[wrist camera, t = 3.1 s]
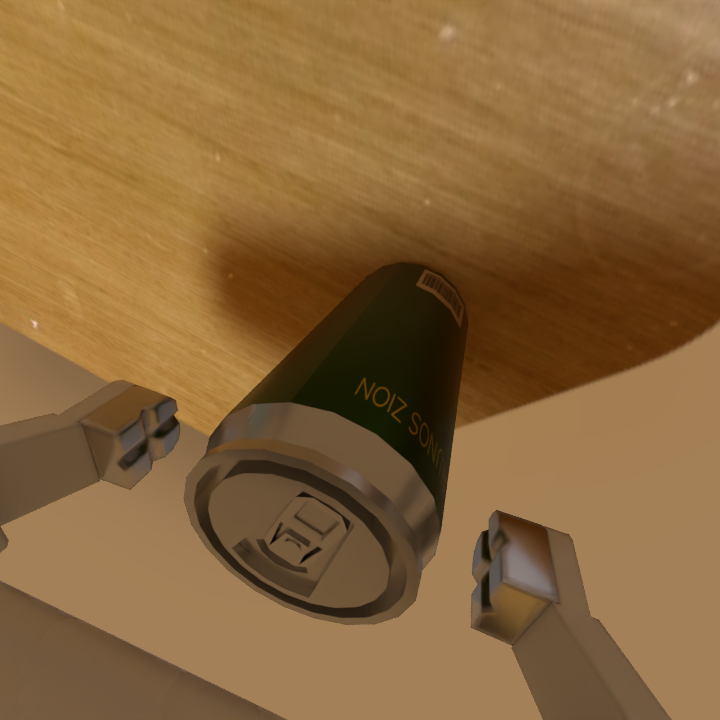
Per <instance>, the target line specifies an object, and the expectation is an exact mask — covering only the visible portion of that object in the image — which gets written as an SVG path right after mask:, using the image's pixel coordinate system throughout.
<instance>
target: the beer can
mask: <svg viewBox="0 0 720 720" xmlns="http://www.w3.org/2000/svg"><path fill="white" fill-rule="evenodd" d="M467 328H468V320H467V313H466V307H465V304H464V302H463V300H462V298H461V296H460V294H459V292H458V291H457V289H456V287H455V286H454V285H452V284H451V283H450V282H449V281H448V280H447V279H446V278H445V277H444V276H443V275H442V274H440V273H438V272H436V271H434V270H432V269H430V268H427V267H425V266H423V265H417V264H409V263H399V264H394V265H389V266H384V267H382V268H380V269H378V270H377V271H375V272H373V273H371V274H370V275H368V276H367V277H366V278H365V279H364V280H363V281H362V282H361V283H360V284H359V285H358V286H357V287H356V288H355V289H354V290H353V291H352V292H351V293H350V294H349V295H348V296H347V297H346V298H345V299H344V300H343V301H342V302H340V303H339V304H338V305H337V306H336V307H335V308H334V309H333V310H332V311H331V312H330V313H329V314H328V315H327V316H326V317H325V318H324V319H323V320H322V321H321V322H320V323H319V324H318V325H317V326H316V327H315V328H314V329H313V330H312V331H311V332H310V333H309V334H308V335H307V336H306V337H305V338H304V339H303V340H302V341H301V342H300V343H299V344H298V345H297V346H296V347H295V348H294V349H293V350H292V351H291V352H290V353H289V354H288V355H287V356H286V357H285V358H284V359H283V360H282V361H281V362H280V363H279V364H278V365H277V366H276V367H275V368H274V369H273V370H272V371H271V372H270V373H269V374H268V375H267V376H266V377H265V378H264V379H263V380H262V381H261V382H260V383H259V384H258V385H257V386H256V387H255V388H254V389H253V390H252V391H251V392H250V393H249V394H248V395H247V396H246V397H245V398H244V399H243V400H242V401H241V402H240V403H239V404H238V405H237V406H236V407H235V408H234V409H233V410H232V411H231V412H230V413H229V414H228V415H227V416H226V417H225V418H224V419H223V420H222V422H221V423H220V424H219V426H218V427H217V428H216V429H215V431H214V432H213V433H212V435H211V436H210V438H209V442H208V446H207V450H206V454H205V455H204V457H203V458H202V459H201V460H200V461H199V462H198V463H197V465H196V466H195V467H194V468H193V470H192V471H191V472H190V473H189V475H188V476H187V477H186V485H185V493H184V502H185V506H186V509H187V512H188V515H189V519H190V522H191V525H192V526H193V528H194V529H195V531H196V532H197V534H198V535H199V537H200V539H201V540H202V542H203V543H204V545H205V546H206V548H207V549H208V550H209V551H210V552H211V553H212V554H213V555H214V556H215V557H216V558H217V559H218V560H219V562H220V563H221V564H222V565H223V566H224V567H225V568H226V569H227V570H228V571H229V572H231V573H232V574H233V575H235V576H236V577H237V578H239V579H240V580H241V581H243V582H244V583H245V584H247V585H248V586H249V587H251V588H252V589H253V590H255V591H256V592H258V593H260V594H262V595H264V596H265V597H267V598H269V599H271V600H273V601H275V602H276V603H278V604H280V605H282V606H283V607H286V608H289V609H291V610H294V611H297V612H299V613H302V614H305V615H307V616H310V617H313V618H316V619H321V620H326V621H330V622H335V623H340V624H345V625H356V624H377V623H381V622H384V621H387V620H390V619H393V618H396V617H399V616H400V615H401V614H402V613H403V612H404V611H405V610H407V609H408V608H409V607H410V606H411V605H412V604H413V603H414V602H415V601H416V597H417V592H418V588H419V583H420V579H421V573H422V570H423V569H424V568H425V567H426V565H427V564H428V563H429V562H430V561H431V559H432V558H433V557H434V556H435V553H436V549H437V545H438V540H439V536H440V532H441V527H442V518H443V512H444V504H445V496H446V489H447V480H448V473H449V466H450V458H451V450H452V442H453V435H454V427H455V420H456V412H457V404H458V397H459V389H460V381H461V374H462V366H463V358H464V351H465V343H466V335H467Z"/></svg>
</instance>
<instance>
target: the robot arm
mask: <svg viewBox="0 0 720 720" xmlns="http://www.w3.org/2000/svg"><path fill="white" fill-rule="evenodd" d="M177 411H178V408H177V403H176V400H175V399H173V398H171V397H168V396H165V395H163V394H160V393H157V392H155V391H152V390H150V389H147V388H144V387H142V386H139V385H136V384H133V383H130V382H128V381H125V380H118V381H114V382H112V383H110V384H109V385H107V386H105V387H104V388H102V389H101V390H99V391H97V392H96V393H94V394H92V395H91V396H89V397H87V398H86V399H84V400H82V401H81V402H79V403H77V404H76V405H74V406H73V407H71V408H69V409H67V410H66V411H64V412H63V413H61V414H59V415H57V414H54V413H53V414H48V415H44V416H39V417H35V418H31V419H27V420H23V421H18V422H14V423H10V424H5V425H1V426H0V526H1V525H3V524H6V523H8V522H10V521H12V520H15V519H17V518H19V517H21V516H23V515H26V514H28V513H30V512H32V511H34V510H37V509H39V508H41V507H43V506H46V505H48V504H50V503H52V502H55V501H57V500H59V499H61V498H63V497H65V496H68V495H70V494H72V493H74V492H77V491H79V490H81V489H83V488H86V487H88V486H90V485H92V484H94V483H96V482H99V481H100V479H101V480H104V481H107V482H110V483H112V484H115V485H118V486H120V487H124V488H126V489H129V490H130V489H132V488H133V487H134V486H135V485H136V484H137V483H138V482H139V481H140V480H141V479H142V478H143V477H145V475H147V474H148V473H149V472H150V471H151V469H152V463H153V461H156V460H159V459H161V458H164V457H166V455H168V454H169V453H170V452H171V451H172V450H173V448H174V446H175V445H176V443H177V441H178V439H179V436H180V423H179V422H178V420H177V419H176V418H175V416H174V414H175V413H176V412H177ZM8 541H9V540H8V539H7V537H6V535H5V534H4V532H3V530H2V529H1V527H0V552H1V551H3V550H4V549H5V548H6V547H7V545H8ZM472 566H473V567H472V575H473V576H474V578H475V580H476V582H477V584H478V585H477V586H476V588H475V590H474V591H473V593H472V597H471V628H473V629H475V630H478V631H480V632H482V633H485V634H487V635H489V636H491V637H494V638H496V639H498V640H501V641H503V642H505V643H508V644H510V645H512V646H513V647H512V650H513V652H514V654H515V657H516V659H517V661H518V663H519V666H520V668H521V670H522V673H523V675H524V677H525V680H526V682H527V684H528V686H529V689H530V691H531V693H532V695H533V698H534V700H535V702H536V705H537V707H538V709H539V712H540V714H541V716H542V718H543V720H671V718H670V717H669V716H668V714H667V713H666V711H665V710H664V709H663V707H662V706H661V705H660V703H659V702H658V700H657V699H656V698H655V696H654V695H653V693H652V692H651V691H650V689H649V688H648V687H647V685H646V684H645V682H644V681H643V680H642V678H641V677H640V676H639V675H638V673H637V671H636V670H635V669H634V667H633V666H632V665H631V663H630V662H629V660H628V659H627V658H626V656H625V655H624V654H623V652H622V651H621V649H620V648H619V647H618V645H617V644H616V643H615V641H614V640H613V638H612V637H611V636H610V634H609V633H608V632H607V631H606V629H605V627H604V626H603V625H602V623H601V622H600V621H599V620H598V619H596V618H593V617H591V616H590V611H589V607H588V603H587V599H586V595H585V590H584V586H583V582H582V578H581V574H580V570H579V565H578V561H577V557H576V553H575V549H574V544H573V540H572V539H571V537H570V536H569V534H566V533H562V532H560V531H556V530H554V529H551V528H548V527H545V526H542V525H540V524H537V523H534V522H531V521H528V520H525V519H522V518H519V517H516V516H513V515H510V514H507V513H504V512H501V511H498V510H496V511H495V512H493V514H492V515H491V517H490V519H489V530H486V531H483V532H482V533H481V535H480V537H479V539H478V541H477V544H476V547H475V551H474V556H473V564H472ZM0 720H287V719H285V718H283V717H281V716H279V715H277V714H274V713H272V712H270V711H268V710H266V709H264V708H262V707H260V706H258V705H256V704H254V703H252V702H249V701H248V700H246V699H243V698H241V697H239V696H237V695H235V694H233V693H231V692H229V691H227V690H225V689H223V688H221V687H219V686H217V685H215V684H212V683H211V682H208V681H206V680H204V679H202V678H200V677H198V676H196V675H194V674H192V673H190V672H188V671H186V670H183V669H181V668H179V667H178V666H175V665H173V664H171V663H169V662H167V661H165V660H163V659H161V658H159V657H157V656H155V655H153V654H151V653H148V652H146V651H144V650H142V649H140V648H138V647H136V646H134V645H132V644H130V643H128V642H126V641H124V640H122V639H120V638H118V637H116V636H114V635H111V634H109V633H107V632H105V631H103V630H101V629H99V628H97V627H95V626H93V625H91V624H89V623H87V622H85V621H83V620H81V619H78V618H76V617H74V616H72V615H70V614H68V613H66V612H64V611H62V610H60V609H58V608H56V607H54V606H52V605H50V604H47V603H45V602H43V601H41V600H39V599H37V598H35V597H33V596H31V595H29V594H27V593H24V592H22V591H21V590H19V589H16V588H14V587H12V586H10V585H8V584H6V583H4V582H2V581H0Z"/></svg>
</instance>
